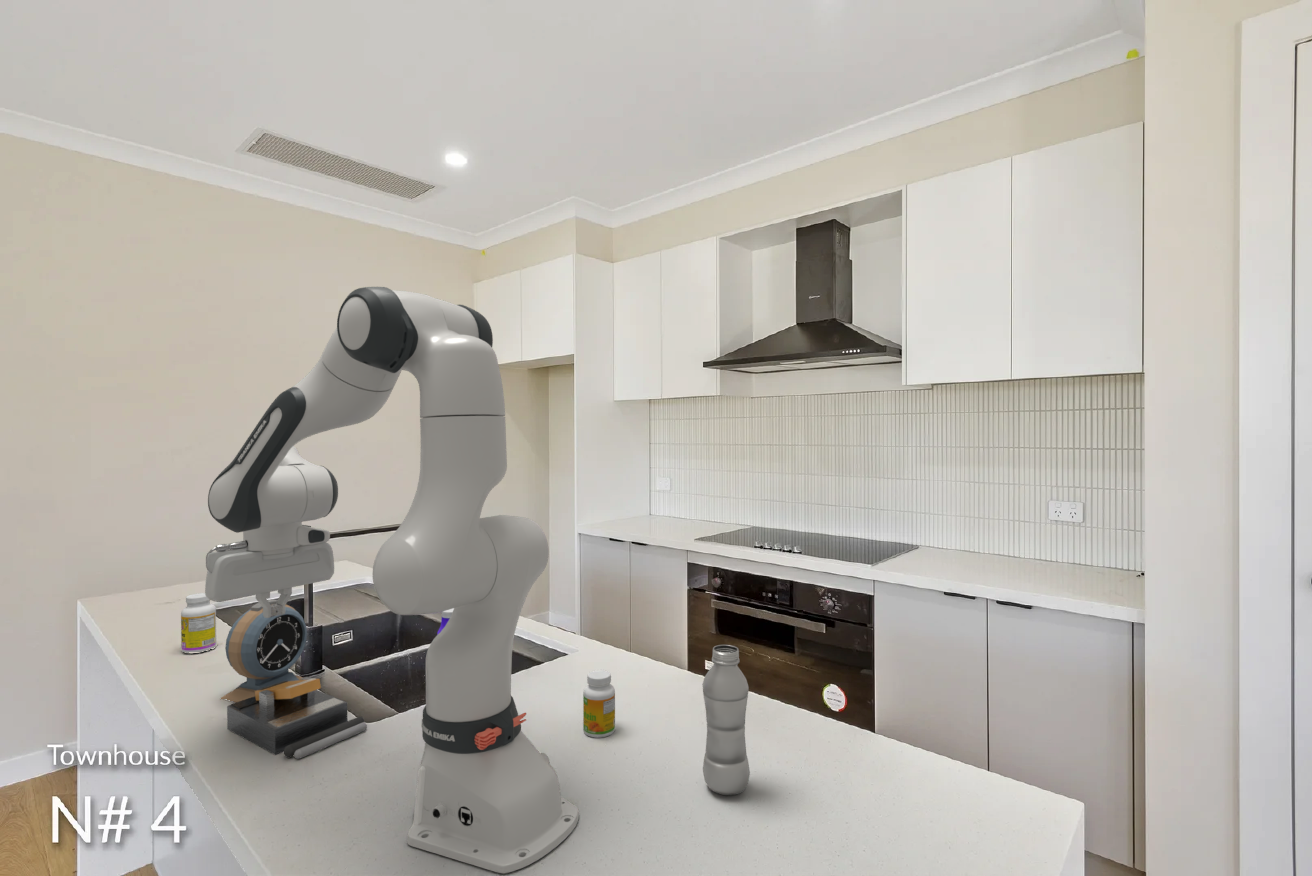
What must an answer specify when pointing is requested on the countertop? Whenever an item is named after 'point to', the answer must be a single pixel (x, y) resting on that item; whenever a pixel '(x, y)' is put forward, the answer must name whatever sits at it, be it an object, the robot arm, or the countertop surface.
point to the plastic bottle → (725, 723)
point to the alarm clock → (264, 649)
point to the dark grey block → (284, 718)
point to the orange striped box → (291, 688)
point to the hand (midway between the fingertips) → (274, 615)
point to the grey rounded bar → (325, 738)
